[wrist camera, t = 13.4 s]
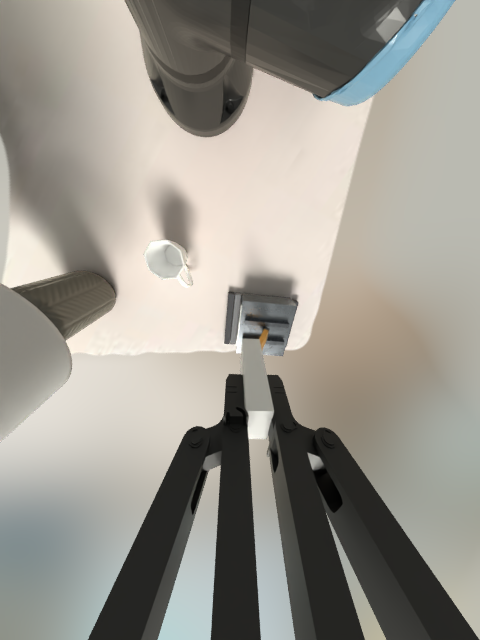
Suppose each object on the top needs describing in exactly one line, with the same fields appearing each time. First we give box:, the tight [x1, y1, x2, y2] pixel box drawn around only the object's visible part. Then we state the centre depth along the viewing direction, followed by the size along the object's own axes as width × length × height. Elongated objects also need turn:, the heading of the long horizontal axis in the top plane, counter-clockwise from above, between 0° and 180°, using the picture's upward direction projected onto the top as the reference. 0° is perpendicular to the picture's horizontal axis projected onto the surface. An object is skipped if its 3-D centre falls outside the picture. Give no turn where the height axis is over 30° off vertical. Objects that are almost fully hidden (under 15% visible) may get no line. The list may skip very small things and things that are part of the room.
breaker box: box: [236, 293, 297, 356], centre depth 43 cm, size 14×12×6 cm
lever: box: [259, 327, 269, 350], centre depth 37 cm, size 3×1×9 cm, turn 174°
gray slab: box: [224, 292, 241, 344], centre depth 45 cm, size 14×3×1 cm, turn 174°
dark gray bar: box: [286, 300, 298, 345], centre depth 46 cm, size 13×1×1 cm, turn 174°
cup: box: [144, 240, 193, 288], centre depth 35 cm, size 7×10×8 cm
